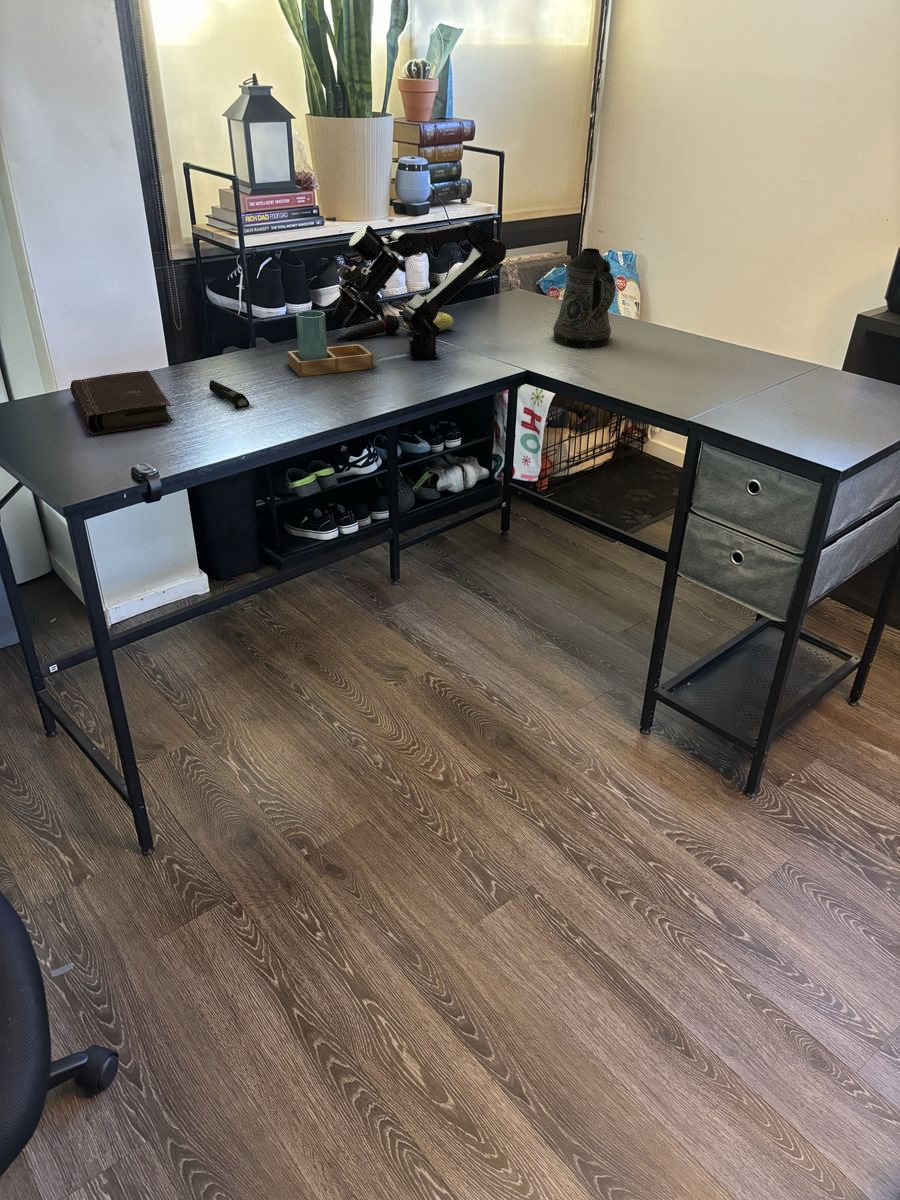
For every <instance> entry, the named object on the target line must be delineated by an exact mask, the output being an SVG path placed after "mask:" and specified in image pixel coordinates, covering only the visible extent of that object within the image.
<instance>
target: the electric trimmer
mask: <svg viewBox="0 0 900 1200" xmlns="http://www.w3.org/2000/svg"><path fill="white" fill-rule="evenodd" d="M208 384H209V385H208V388H209V390H210V392H212V393H213V395H215V396H216V397H217V398H218V399H221V400H226V401H228V402H229V403H230V404H232V405H233V407H234V409H236V410H245V409H249V408H250V406H251V403H250V401H249V399H248V398H247V397H246V396H245V394H243V393H242V392H238V391H236V390H234V389H232V388H231V387H228V386H226V385H223V384H222V383H220V382H218V381H216V380H213V379H211V380H209V383H208Z"/></svg>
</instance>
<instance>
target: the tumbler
mask: <svg viewBox="0 0 900 1200" xmlns="http://www.w3.org/2000/svg"><path fill="white" fill-rule="evenodd" d="M295 320H296V321H295V322H296V335H297V351H298V350H299V360H300V361H309V360H318V359H327V347H328V344H327V343H328V342H327V322H326V313H325V312H324V311H320V310H314V309H313V310H312V309H311V310H301V311H298V312H296V313H295Z"/></svg>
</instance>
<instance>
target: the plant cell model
mask: <svg viewBox="0 0 900 1200" xmlns="http://www.w3.org/2000/svg"><path fill="white" fill-rule="evenodd" d="M433 322H434V323H435V324H436V325H437V326H438V327H439V329H440V330H439V332H442V331H445V330H447V329H449V328H451V327H452V326H453V324H454V319H453V317H452V316H451V315H450V314H448V313H445V312H441V311H439V312H438V314H437V316H436V318H435V320H434V321H433ZM403 328H405V329H406V330H408V331H410V332H413V331H412V330H410V329H409V326H408V325H407V324H406V323H405V322H404V321H403Z"/></svg>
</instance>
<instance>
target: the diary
mask: <svg viewBox="0 0 900 1200" xmlns="http://www.w3.org/2000/svg"><path fill="white" fill-rule="evenodd" d="M69 389H70V393H71V396H72V397H73V399H74V401H75V404H76V407H77V409H78V412H79V414H80V415H81V417H82V419H83V422H84V425H85V429H86V430H87V431H88V432H89V434H90V435H92V436H94V435H100V434H107V433H108V434H109V433H114V432H115V433H116V432H121V431H127V430H136V429H142V428H148V427H149V428H150V427H155V426H159V425H164V424H169V423H172V422H174V418H172V417H171V416H170V413H168V409H167V407H172V404H171V402H170V401H169V400H168V398H167V397H166V395H165V394H164V391H162V390H161V388H160V387H159V385H158V383H157V382H156V380H155V378H154V377H153V375H152V374H151V373H150V371H149V370H148V369H147V370H138V371H129V372H120V373H111V374H110V373H109V374H104V375H98V376H93V377H92V376H91V377H88V378H87V377H86V378H82V379H73V380H71V382H70V387H69Z"/></svg>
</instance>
